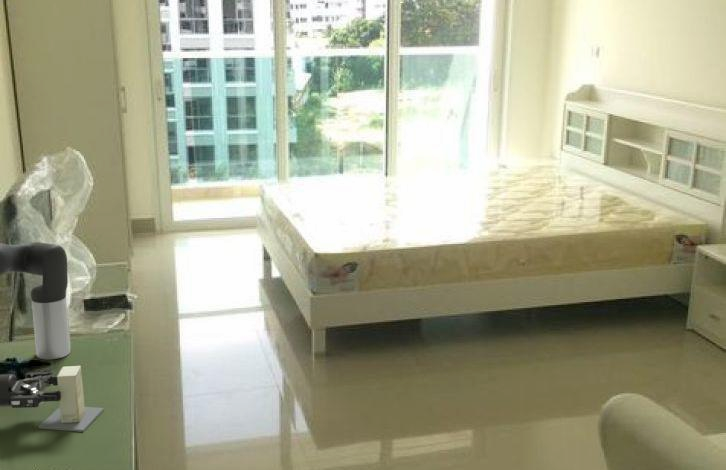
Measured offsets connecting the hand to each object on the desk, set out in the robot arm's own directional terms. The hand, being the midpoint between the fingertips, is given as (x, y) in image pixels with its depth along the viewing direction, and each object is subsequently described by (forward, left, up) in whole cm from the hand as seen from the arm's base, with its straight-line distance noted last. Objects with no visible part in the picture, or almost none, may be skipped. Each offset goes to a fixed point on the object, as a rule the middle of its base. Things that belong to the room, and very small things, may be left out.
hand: (64, 387), depth 180 cm
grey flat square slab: (0, +1, -8) cm, 8 cm away
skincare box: (0, +1, -8) cm, 8 cm away
